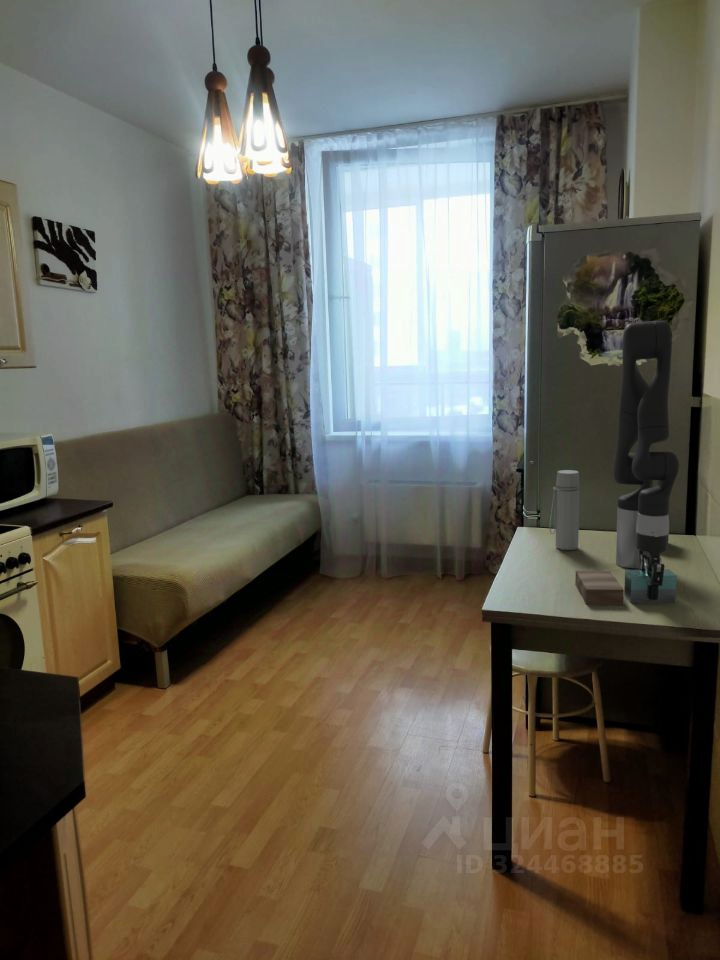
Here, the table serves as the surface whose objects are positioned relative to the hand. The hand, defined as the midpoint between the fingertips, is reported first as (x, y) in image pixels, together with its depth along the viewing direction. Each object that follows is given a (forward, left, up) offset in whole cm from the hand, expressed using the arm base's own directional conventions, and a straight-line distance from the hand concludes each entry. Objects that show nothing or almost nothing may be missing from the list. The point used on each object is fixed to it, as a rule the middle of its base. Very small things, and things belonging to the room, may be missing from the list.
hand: (649, 595), depth 173 cm
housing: (0, 0, -1) cm, 1 cm away
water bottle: (-46, -14, -1) cm, 48 cm away
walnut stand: (-3, -12, -1) cm, 12 cm away
